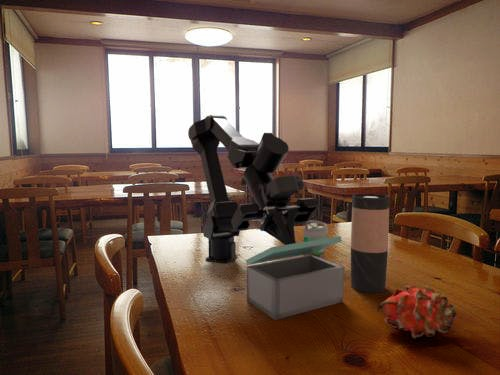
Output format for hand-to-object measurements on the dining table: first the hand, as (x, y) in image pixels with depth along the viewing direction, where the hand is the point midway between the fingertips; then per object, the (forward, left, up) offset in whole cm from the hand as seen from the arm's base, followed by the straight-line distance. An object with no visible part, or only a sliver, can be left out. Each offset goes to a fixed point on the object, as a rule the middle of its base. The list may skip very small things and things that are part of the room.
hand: (293, 247), depth 76 cm
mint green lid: (0, 0, -1) cm, 1 cm away
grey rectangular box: (+1, 0, -11) cm, 11 cm away
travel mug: (+13, +14, -11) cm, 21 cm away
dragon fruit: (+23, -4, -11) cm, 25 cm away
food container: (-2, +27, -11) cm, 29 cm away
